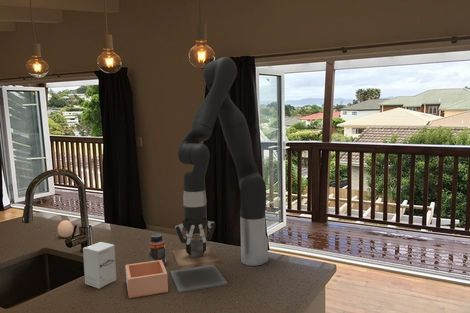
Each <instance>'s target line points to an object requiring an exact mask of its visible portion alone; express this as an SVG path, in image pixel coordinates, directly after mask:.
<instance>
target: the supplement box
mask: <svg viewBox="0 0 470 313" xmlns="http://www.w3.org/2000/svg"><path fill="white" fill-rule="evenodd" d="M115 249H116V248H115V244H113V243H108V242H103V241H99V242H96V243H93V244H91V245H89V246H85V247H83V248H82V252H83V254H82V256H83V270H84V271H83V272H84V284H85V285H88V286H91V287H93V288H96V289H98V290H99V289H101V288H103V287H104V286H107V285H109V284H112V283H114V282H115V281H117V267H116V250H115Z"/></svg>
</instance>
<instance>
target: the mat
mask: <svg viewBox="0 0 470 313" xmlns="http://www.w3.org/2000/svg"><path fill="white" fill-rule="evenodd" d="M169 273H170V275H171V278H172V280H173V283H174V285H175V287H176V289H177V292H178V293H180V294H181V293H187V292H191V291H192V292H193V291H198V290H204V289H209V288H214V287H215V288H216V287H220V286H227V285H228V281H227V280H226V279H225V277H224V276H223V274H221V271H220V270H219V269H218V268H217V267H216V266H215V265H209V266H201V267H194V268H187V269H176V270H170V271H169Z"/></svg>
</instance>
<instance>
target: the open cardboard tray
mask: <svg viewBox="0 0 470 313" xmlns="http://www.w3.org/2000/svg"><path fill="white" fill-rule="evenodd" d="M168 278H169V276H168V271H167V270H166V267H165V265H164V264H163V262H162V260H157V261H150V260H149V261H145V262H137V263H130V264H125V281H126V289H127V295H128V299H133V298H138V297H145V296H150V295H156V294H162V293H163V294H164V293H168V292H169V282H168V281H169V279H168Z"/></svg>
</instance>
